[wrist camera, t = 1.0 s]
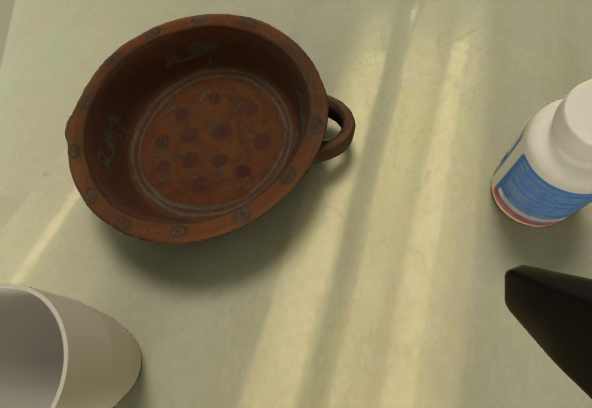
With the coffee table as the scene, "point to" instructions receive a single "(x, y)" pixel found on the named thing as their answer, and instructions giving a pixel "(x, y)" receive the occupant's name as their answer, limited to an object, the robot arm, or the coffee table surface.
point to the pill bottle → (549, 163)
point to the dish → (200, 128)
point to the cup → (61, 352)
